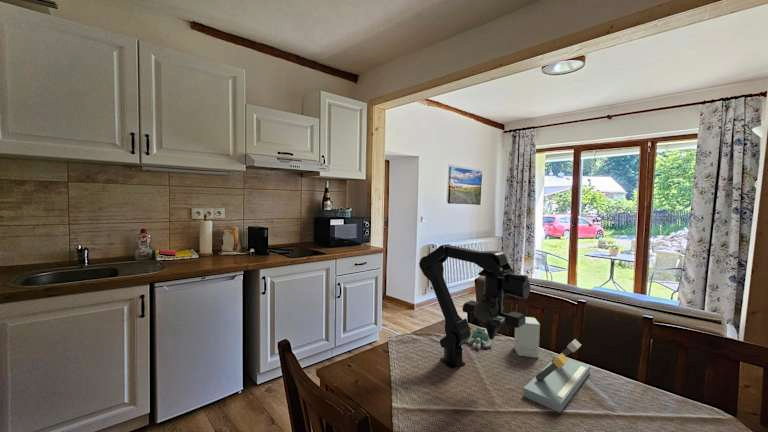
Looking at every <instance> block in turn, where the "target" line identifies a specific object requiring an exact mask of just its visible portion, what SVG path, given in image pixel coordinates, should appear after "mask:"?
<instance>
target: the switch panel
mask: <svg viewBox="0 0 768 432" xmlns="http://www.w3.org/2000/svg"><path fill="white" fill-rule="evenodd" d="M558 355H559V354H558ZM558 355H556V356H555V357H557V356H558ZM566 358H567V359H568V362H567V363H566V364H565V365H563V366H562V367H561V368H560V369H559V368H557V369H555V370H554V371H553V372H552V373H550V374H549V375H548V376H547V377H546V378H545V379H544V380H543V381H541V382H539V381H538V380H537V379H536V375H535V376H534V377H533V378H532V379H531V380H530V381H529V382H528V383H527V384H526V385H525V386H524V387H523V392H522V393H523V394H522V395H523V397H525V398H526V399H528V400H531V401H533V402H536V403H538V404H540V405H542V406H545V407H547V408H548V409H551V410H554V411H555V412H556V413H562V411H563V410H564V409H565V407H566V406H567V404H568V403H569V402H570V400H572V398H573V396H574V395H575V393H576V392H577V391H578V390H579V388H580V387H581V385H582V384H583V383H584V382H585V380H586V379H587V377H588V376H589V374H590V373H591V365H589V364H585V363H583V362H579V361H577V360H574V359H571V358H568V357H566ZM550 364H552V360H551V361H550V362H549V363H548V364H547V365H546V366H545V367H544V368H543V369H542V370H541V371H543V370H544V369H545V368H547V367H548V366H549V365H550Z"/></svg>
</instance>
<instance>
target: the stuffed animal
mask: <svg viewBox="0 0 768 432" xmlns="http://www.w3.org/2000/svg"><path fill="white" fill-rule="evenodd" d="M466 343H468V345H470V346H472V347H473V348H474V349H478V350H480V349H481V347H483V348H484V349H489V348H490V347H492V345H493V344H494V342H493V340H490V339H489V336H488V333H487V329H486V327H480V326H476V327H475V328H474V329H473V330H472V333H471V336H470V338H469V340H467V341H466Z"/></svg>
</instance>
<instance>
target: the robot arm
mask: <svg viewBox="0 0 768 432" xmlns="http://www.w3.org/2000/svg"><path fill="white" fill-rule="evenodd" d="M449 258H451V259H454V260H459V261H463V262H468V263H472V264H475V265H476V266H478V267H479V268H482V270H481V271H479V272H478V276H482V277H484V285H483V294H481V297H480V301H476V300H469V301H466V302H464V303H463V305H462V312H463V313H466V314H470V315H471V314H472V313H474V314H473V315H474V318H475V319H478V320H481V321H482V322H483V324H484V326H485V329H487V333H488V336H489V339H490V340H492V341H493V340H494V338H495V337H496V336H497V335H496V334H497V333H498V331H499V329H500V327H501V325H502V324H504V323H505V324H506V325H507V326H509V327H512V328H514V329H515V328H519V327H520V326H522V325H524V324H525V321H526V318H525V317H526V316H525V315H524V314H522V313H520V312H516V311H511V312H509V313H507V312H503V311H505V306H503V304H504V303H503V302H504V298H506V296H505V295H508V296H512V297H515V298H519V299H525V300H527V298H529V295H530V293H531V283H530V280H529V279H528V278H529V276H528V275H527V274H519V273H515V272H514V270H513V268H512V266H511V264H510V263H509V262H508V258H507V256H506V253H504V252H502V251H501V250H500V251H499V250H488V251H487V250H483V251H481V250H474V249H469V248H465V247H460V246H457V245H456V246H455V245H451V244H442V245H439V246H438V247H437V248H436V249H434V250H433V251H431V252H430V253H428V254H427V255H425V256H422V257H421V258H420V260H419V263H418V264H419V268H420V270H421V273H422V274H423V275H424V276H425V278H427V280H429V282H430V285H431V286H432V289H433V291H434V294H435V296H436V297H435V298H436V299H437V302H438V305H439V307H440V310H441V312H442V315H443V319H444V333H445V336H443V337H442V338H441V339H440V340H439V344H440V347H441V348H443V357H439V360H440V361H441V362H442V363H443V364H444V365H446V366H447V367H448V368H450V369H452V368H459V367H461V366H465V365H466V362H465V361H463V347H462V346H463V345H465V344H466V343H467V340H469V338H470V336H471V334H472V333H471V330H472V328H471V327H470V325H469V323H468V320H467V318H462V317H461V316H460V315H459V314H458V311H457V309H456V306H455V303H454V300H453V298H452V296H451V293H450V291H449V288H448V286H447V284H446V281H445V279H444V269H445V268H444V265H443V264H444V263H445V262H446V261H447V260H448V259H449Z"/></svg>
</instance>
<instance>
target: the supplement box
mask: <svg viewBox="0 0 768 432" xmlns="http://www.w3.org/2000/svg"><path fill="white" fill-rule="evenodd" d="M525 318H526V321H525V324H524V325H522V326H520V327H519V328H515V327H514V339H513V341H514V342H513V348H514V350H515V352H516V354H517V356H519V357H520V356H521V357H528V358H529V357H530V358H539V352H540V351H539V349H540V330H541V329H540V328H541V324H540V322H539V321H538V320H537V319H536V318H535V317H531V316H525Z"/></svg>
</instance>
